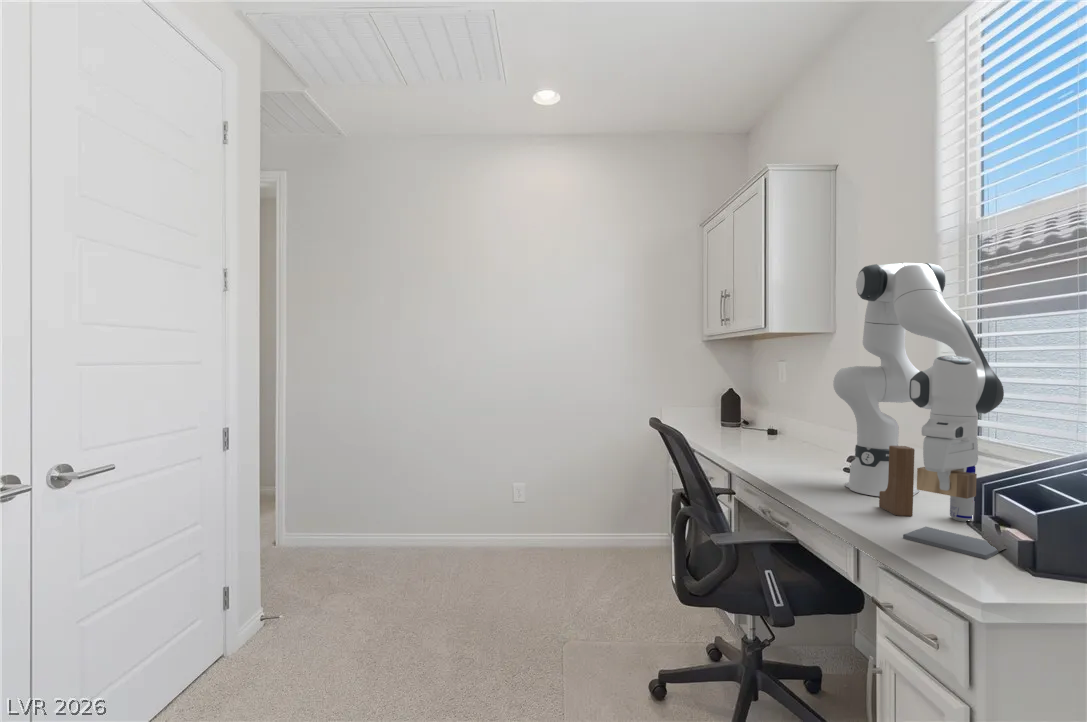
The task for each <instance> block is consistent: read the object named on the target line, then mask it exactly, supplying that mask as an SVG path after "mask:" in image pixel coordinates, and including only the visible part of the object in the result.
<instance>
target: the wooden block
mask: <svg viewBox="0 0 1087 722" xmlns="http://www.w3.org/2000/svg"><path fill="white" fill-rule="evenodd" d="M914 479H915V448H913V447H910V446H908V445H898V446H889V473H888V486H887V489H886V490H885V491H880V493H879V496H878V497H879V498H878V502H879V503H878V506H879V508H881V509H883V510H885V511H887V512H888V513H891V514H892V515H895V516H897V517H898V516H899V517H902V516H903V517H912V516H913V513H914V512H913V511H914V495H913V487H914V485H915V484H914V483H915V482H914Z"/></svg>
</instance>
